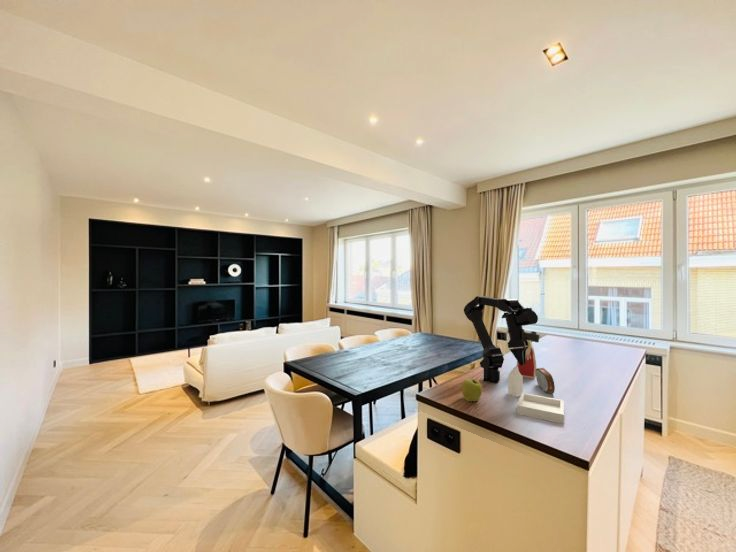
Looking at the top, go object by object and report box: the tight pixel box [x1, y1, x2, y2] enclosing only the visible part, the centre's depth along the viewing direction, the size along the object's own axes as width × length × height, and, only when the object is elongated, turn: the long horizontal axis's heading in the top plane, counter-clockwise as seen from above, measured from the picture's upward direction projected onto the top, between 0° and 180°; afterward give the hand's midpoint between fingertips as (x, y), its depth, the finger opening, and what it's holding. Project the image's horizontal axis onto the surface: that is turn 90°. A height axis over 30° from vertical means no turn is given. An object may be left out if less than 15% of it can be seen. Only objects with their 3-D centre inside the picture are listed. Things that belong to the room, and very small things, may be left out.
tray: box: [516, 392, 565, 424], centre depth 110 cm, size 14×14×3 cm
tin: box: [535, 367, 556, 394], centre depth 131 cm, size 15×3×8 cm, turn 168°
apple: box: [461, 378, 483, 402], centre depth 121 cm, size 8×8×10 cm
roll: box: [507, 365, 524, 397], centre depth 127 cm, size 6×12×6 cm
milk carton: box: [516, 340, 537, 380], centre depth 152 cm, size 9×9×20 cm
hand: (523, 364), depth 126 cm, fingers open, 9 cm apart
